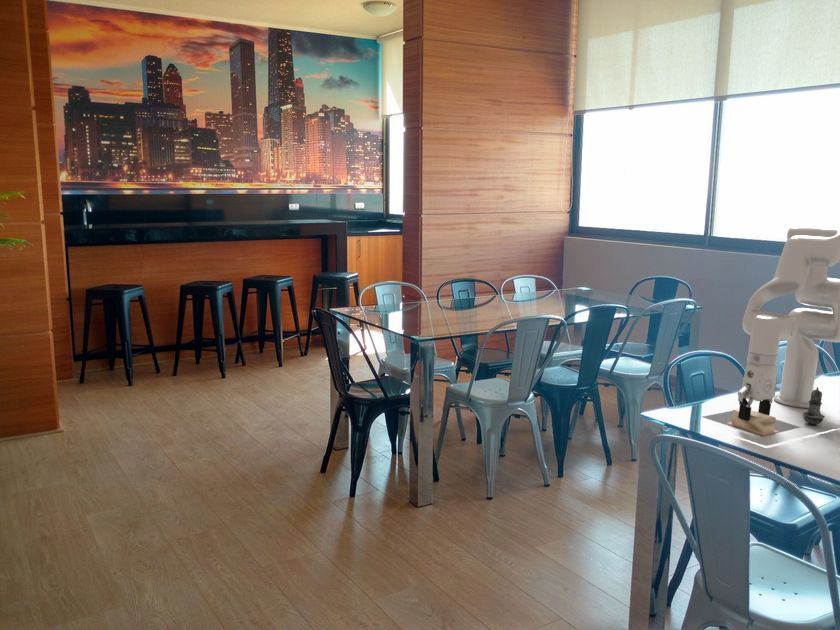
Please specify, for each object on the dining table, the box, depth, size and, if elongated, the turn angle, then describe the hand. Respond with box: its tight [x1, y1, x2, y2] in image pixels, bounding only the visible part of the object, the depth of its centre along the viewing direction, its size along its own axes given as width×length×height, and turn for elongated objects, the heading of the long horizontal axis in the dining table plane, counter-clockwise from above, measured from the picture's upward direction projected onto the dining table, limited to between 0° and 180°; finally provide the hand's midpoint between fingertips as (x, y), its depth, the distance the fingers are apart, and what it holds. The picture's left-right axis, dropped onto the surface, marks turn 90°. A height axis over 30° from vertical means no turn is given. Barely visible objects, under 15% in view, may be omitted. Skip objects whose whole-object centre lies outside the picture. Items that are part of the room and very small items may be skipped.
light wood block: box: [732, 408, 777, 433], centre depth 208 cm, size 10×5×4 cm, turn 33°
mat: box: [702, 410, 801, 437], centre depth 213 cm, size 20×19×1 cm
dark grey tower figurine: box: [802, 386, 825, 427], centre depth 213 cm, size 6×6×12 cm
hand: (753, 417), depth 208 cm, fingers open, 9 cm apart
